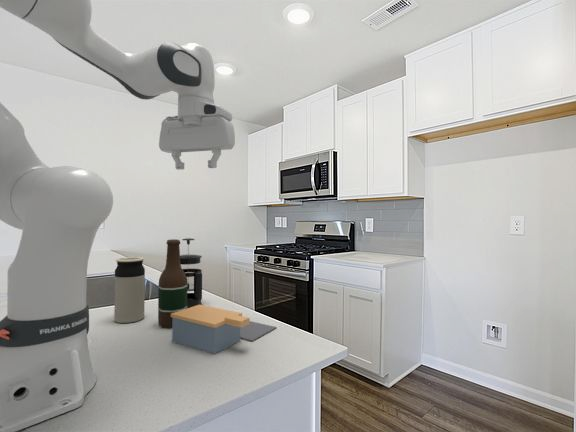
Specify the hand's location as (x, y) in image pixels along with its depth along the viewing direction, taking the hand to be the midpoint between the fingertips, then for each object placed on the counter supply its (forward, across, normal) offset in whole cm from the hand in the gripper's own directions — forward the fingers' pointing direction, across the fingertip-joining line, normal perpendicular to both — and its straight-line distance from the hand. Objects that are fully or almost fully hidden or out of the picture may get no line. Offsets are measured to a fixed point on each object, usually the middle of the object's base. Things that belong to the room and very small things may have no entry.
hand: (195, 168), depth 81 cm
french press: (+43, -18, +24) cm, 52 cm away
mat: (+43, +9, +10) cm, 45 cm away
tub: (+43, +4, 0) cm, 43 cm away
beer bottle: (+43, -12, +7) cm, 45 cm away
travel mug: (+43, -26, +6) cm, 51 cm away
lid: (+37, +6, -1) cm, 38 cm away
